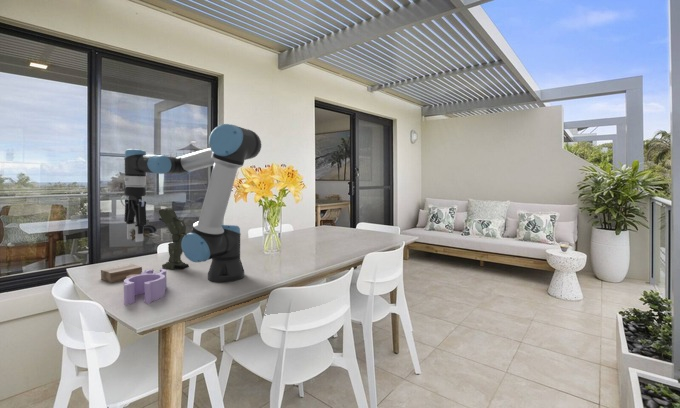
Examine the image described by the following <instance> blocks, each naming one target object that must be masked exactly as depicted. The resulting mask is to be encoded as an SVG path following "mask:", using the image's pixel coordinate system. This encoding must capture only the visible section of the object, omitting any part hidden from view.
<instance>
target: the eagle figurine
mask: <svg viewBox="0 0 680 408" xmlns="http://www.w3.org/2000/svg"><path fill="white" fill-rule="evenodd" d="M156 232H157V228H156V227H155V226H154V225H151V224H150V225H149V224H146V225H144V226H143V241H142V242H144V241H145V237H146V238H149V239H153V240H155V239H156V238H154V237H153V236H151V235H150V234H154V233H156ZM131 234H132V235H130V236H132V239H131V241H134V240H135V236H134V235H135V229H131Z"/></svg>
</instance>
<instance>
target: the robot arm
mask: <svg viewBox="0 0 680 408" xmlns="http://www.w3.org/2000/svg"><path fill="white" fill-rule="evenodd" d="M208 145H209V146H210V147H208V148H204V149H201V150H197V151H194V152H191V153H188V154H185V155H181V156H177V157H176V156H169V155H168V156H166V155H162V154H147V153H146V152H147V151H146V150H144V149H135V148H134V149H133V148H127V149H126V150H125V151H124V177H123V181H124V185H125V187H124V195H125V196H127V197H128V198H126V199H124V222H125V224H126V239H127V240H132V236H130V235H132V234H131V229H135V235H134V236H135V239H134V240H135V241H134V242H135V243H138V242H144V241H143V237H144V236H143V226H147V202H146V201H143V197H145V196H146V195H147V194H146V191H147V188H146V186H147V174H155V175H158V174H159V175H179V176H184V175H189V174H191V173H192V172H194V171H197V170H198V171H199V170H202V169H205V168H209V167H212V170H211V174H210V178H209V182H208V185H207V188H206V189H207V190H206V193H205V196H204V199H203V203H202V207H201V210H200V214H199V218H198V221H196V222H194V223H193V225H192V227H191V231H190V232H188V233H187V235H185V236H184V237H183V239H182V243H181V246H182V251H183V252H182V253H183V254H184V256H185V258H187V260H189V261H190V262H192V263H201V262H202V263H203V262H207V261H208V260H211V262H210V267H209V269H208V272H207V280H208V281H210V282H216V283H227V282H228V283H229V282H233V281H239V280H241V279H243V278H244V277H245V269H244V266H243V263H242V260H241V235H242V234H241V228H240V226H238V225H231V224H230V225H229V224H223V222H224V219H225V215H226V212H227V209H228V204H229V201H230V197H231V194H232V190H233V186H234V183H235V179H236V176H237V173H238V170H239V168H242V167H243V166H244V163H245V161H246V160H251V159H253V158H255V157H257V156H258V155H259V154H260V153H261V149H262V141H261V138H260V136H259V135H258V134H257V133H256V132H255V131H253V130H250V129H248V128H245V127H244V128H243V127H241V126H238V125H235V124H230V123H223V124H219V125H217V126H216V127H214V129H213V130H212V131H211V133H210V135H209V137H208Z"/></svg>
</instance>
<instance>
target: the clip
mask: <svg viewBox="0 0 680 408" xmlns="http://www.w3.org/2000/svg"><path fill="white" fill-rule="evenodd" d="M167 288H168V287H167V270H166V268H160V269H159V272H155V273H154V268H153V269H147V270H142V273H141V274H140V275H136V276H132V277H129V278H127V279H125V280H123V301H124V305H125V306H128V305H131V304H134V303H135V302H136V301H135V300H136V298H135V296H136V295H141V294H144V303H145V304H147V305H149V304H152V302H154V301H156V300H157V301H158V300H159V298H160V299H162V298H164V297H165V296H166V289H167ZM163 296H164V297H163ZM153 300H154V301H153Z"/></svg>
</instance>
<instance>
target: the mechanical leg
mask: <svg viewBox="0 0 680 408" xmlns="http://www.w3.org/2000/svg"><path fill="white" fill-rule="evenodd" d="M158 214H159V218H158V220H159V221H161V222H163V224H165V225H166V228H167V229H168V231H169V232H170V234H171V235H172V237H171V239H172V242H169V243H168V245H167V246H168V248H167V250H168V254H169V255H168V256H169V257H168V260H167V262H166V263H163V264H162V265H161V269H165V270H166V269H167V270H168V269H169V270H184V269H187V268H189V264H188V263H185V262H184V261H182V259H181V256H182V255H183V253H184V252H183V251H182V246H181V243H182V239H183V237H184V236H185V235H187V234H188V233H187V231H186V230H187V227H186V226H187V225H186V224H185V222H184V220H182V219H181V218H180V217H178V215H177V213H176V211H175V210H174V209H173V208H171V207H166V208H165V209H163V208H162V209H159V210H158Z"/></svg>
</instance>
